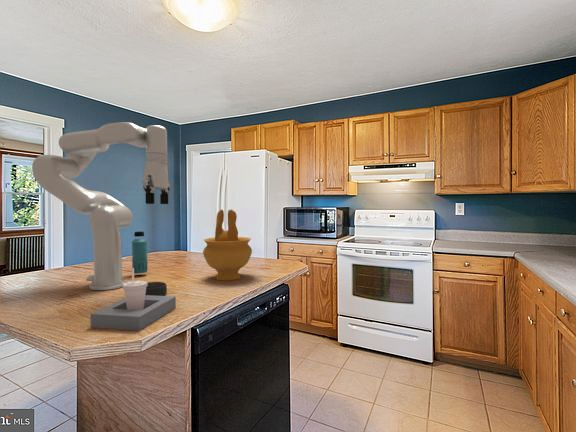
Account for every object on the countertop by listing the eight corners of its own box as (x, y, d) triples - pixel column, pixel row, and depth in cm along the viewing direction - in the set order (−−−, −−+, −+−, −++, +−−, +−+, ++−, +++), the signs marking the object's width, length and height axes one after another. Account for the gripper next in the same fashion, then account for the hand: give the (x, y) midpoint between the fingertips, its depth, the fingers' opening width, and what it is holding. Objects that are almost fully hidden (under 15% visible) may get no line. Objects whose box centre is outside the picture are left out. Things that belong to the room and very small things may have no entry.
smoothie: (128, 313, 92) (127, 266, 92) (151, 312, 93) (150, 265, 93) (118, 321, 86) (118, 270, 86) (143, 320, 87) (142, 270, 86)
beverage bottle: (137, 277, 139) (136, 232, 138) (128, 275, 142) (128, 231, 141) (150, 274, 144) (150, 231, 143) (142, 273, 148) (141, 230, 147)
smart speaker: (164, 290, 118) (164, 280, 118) (168, 296, 110) (168, 285, 110) (138, 294, 113) (137, 283, 113) (141, 300, 106) (141, 288, 106)
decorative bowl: (258, 273, 147) (258, 209, 146) (241, 284, 126) (241, 209, 125) (216, 271, 151) (216, 209, 150) (194, 281, 131) (193, 209, 130)
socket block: (90, 327, 82) (90, 313, 82) (134, 305, 100) (134, 294, 100) (139, 330, 80) (139, 316, 80) (175, 307, 98) (175, 296, 98)
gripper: (160, 162, 130) (160, 204, 130) (133, 156, 113) (134, 203, 113) (177, 162, 129) (177, 204, 129) (152, 155, 112) (153, 203, 112)
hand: (157, 203), depth 121 cm, fingers open, 9 cm apart
